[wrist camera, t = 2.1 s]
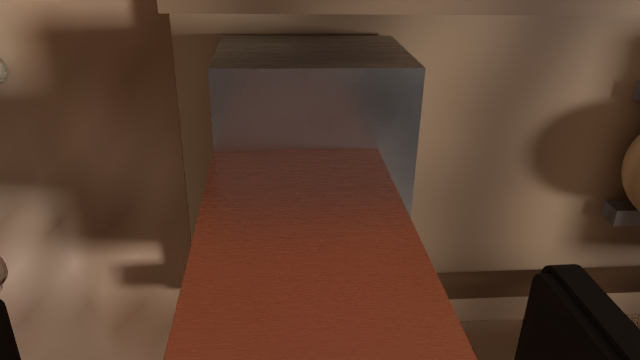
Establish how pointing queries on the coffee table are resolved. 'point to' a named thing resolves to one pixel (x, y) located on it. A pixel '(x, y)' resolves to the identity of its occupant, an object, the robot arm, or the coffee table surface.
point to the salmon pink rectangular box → (312, 210)
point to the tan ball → (632, 172)
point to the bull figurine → (0, 266)
